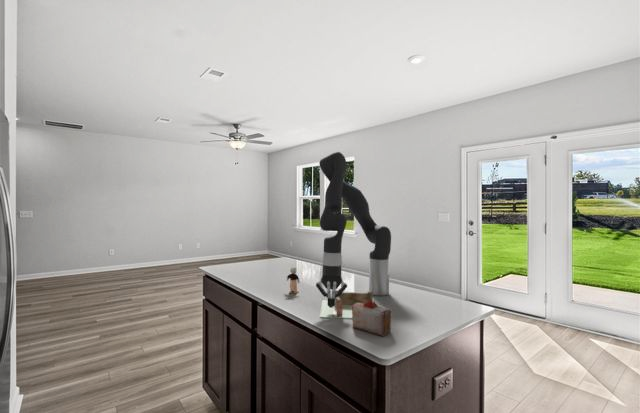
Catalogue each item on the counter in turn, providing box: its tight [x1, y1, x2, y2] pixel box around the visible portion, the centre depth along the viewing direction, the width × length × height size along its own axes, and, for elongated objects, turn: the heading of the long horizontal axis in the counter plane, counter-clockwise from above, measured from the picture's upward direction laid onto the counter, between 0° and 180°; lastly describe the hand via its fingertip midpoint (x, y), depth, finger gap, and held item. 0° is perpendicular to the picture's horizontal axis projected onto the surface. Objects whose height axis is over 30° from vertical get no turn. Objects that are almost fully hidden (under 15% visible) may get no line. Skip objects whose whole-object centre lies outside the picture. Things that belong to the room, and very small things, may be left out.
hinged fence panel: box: [335, 290, 343, 316], centre depth 130 cm, size 16×2×6 cm, turn 4°
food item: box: [352, 299, 392, 337], centre depth 111 cm, size 14×8×10 cm, turn 50°
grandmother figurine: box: [286, 266, 301, 294], centre depth 156 cm, size 8×4×13 cm, turn 71°
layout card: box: [319, 299, 353, 320], centre depth 132 cm, size 23×21×1 cm
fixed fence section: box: [339, 290, 374, 306], centre depth 136 cm, size 14×2×6 cm, turn 87°
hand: (330, 306), depth 126 cm, fingers closed
